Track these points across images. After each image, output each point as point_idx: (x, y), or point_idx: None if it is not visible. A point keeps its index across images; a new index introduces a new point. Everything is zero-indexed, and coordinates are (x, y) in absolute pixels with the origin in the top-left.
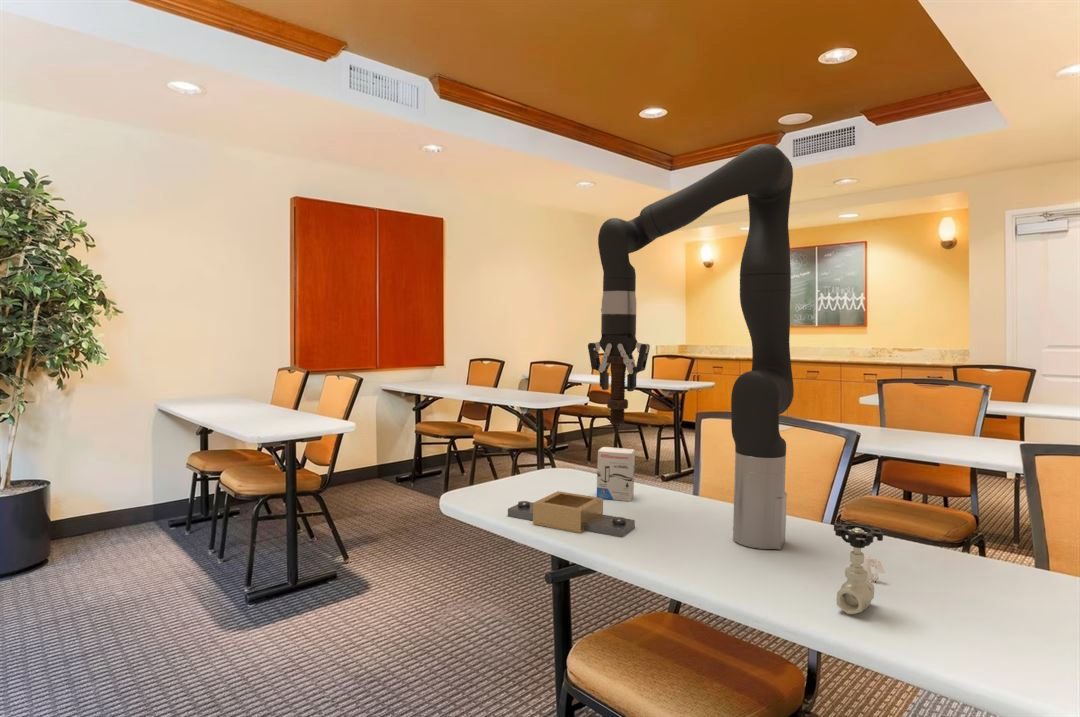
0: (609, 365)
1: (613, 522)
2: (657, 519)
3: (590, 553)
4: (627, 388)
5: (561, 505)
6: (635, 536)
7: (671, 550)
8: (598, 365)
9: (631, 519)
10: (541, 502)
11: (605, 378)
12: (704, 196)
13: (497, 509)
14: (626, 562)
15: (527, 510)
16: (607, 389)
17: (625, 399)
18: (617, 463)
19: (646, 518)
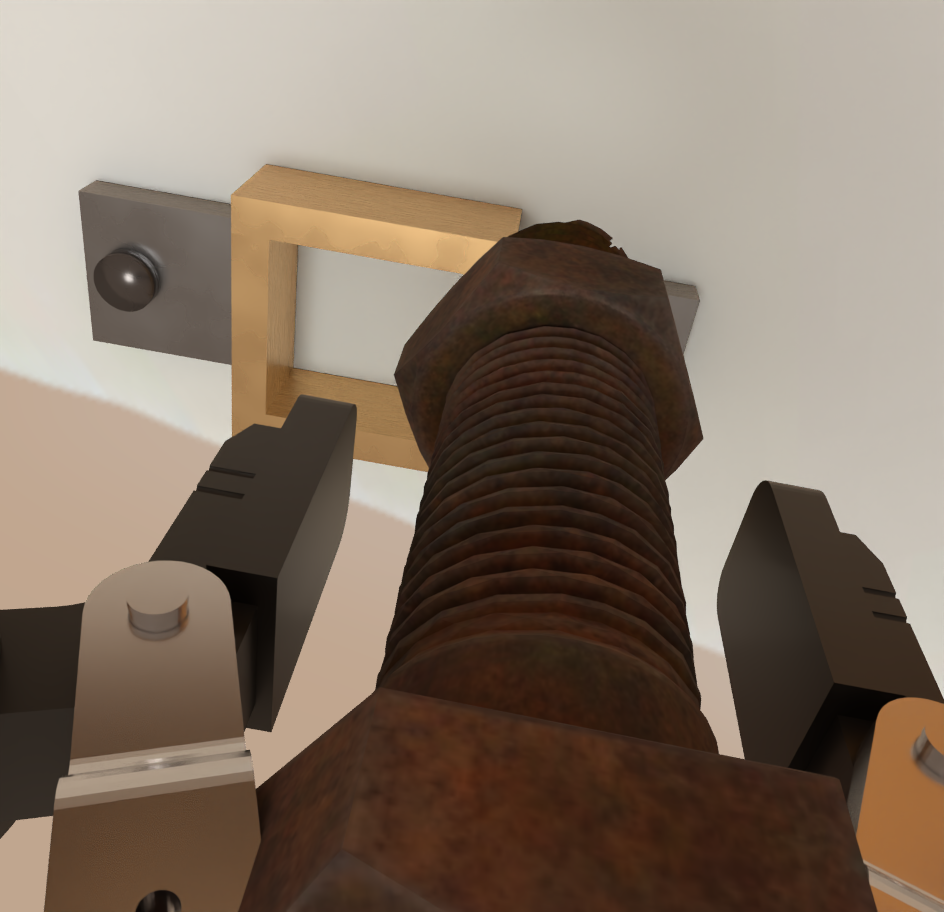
0: (242, 736)
1: None
2: (808, 102)
3: None
4: (725, 626)
5: (365, 435)
6: (709, 393)
7: (858, 493)
8: (25, 812)
9: (682, 298)
10: (262, 420)
11: (302, 632)
12: None
13: (3, 247)
14: (701, 623)
15: (183, 334)
16: (354, 430)
17: (658, 375)
18: None
19: (745, 107)
